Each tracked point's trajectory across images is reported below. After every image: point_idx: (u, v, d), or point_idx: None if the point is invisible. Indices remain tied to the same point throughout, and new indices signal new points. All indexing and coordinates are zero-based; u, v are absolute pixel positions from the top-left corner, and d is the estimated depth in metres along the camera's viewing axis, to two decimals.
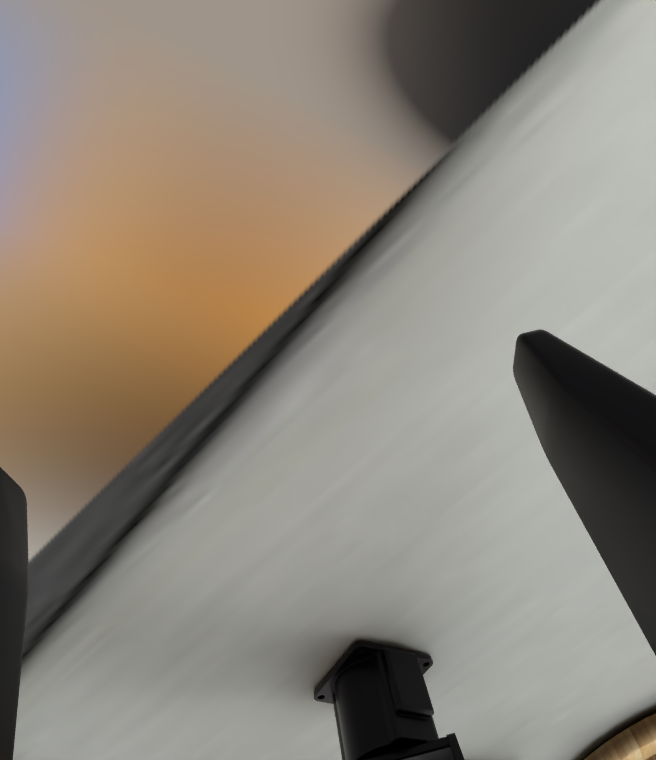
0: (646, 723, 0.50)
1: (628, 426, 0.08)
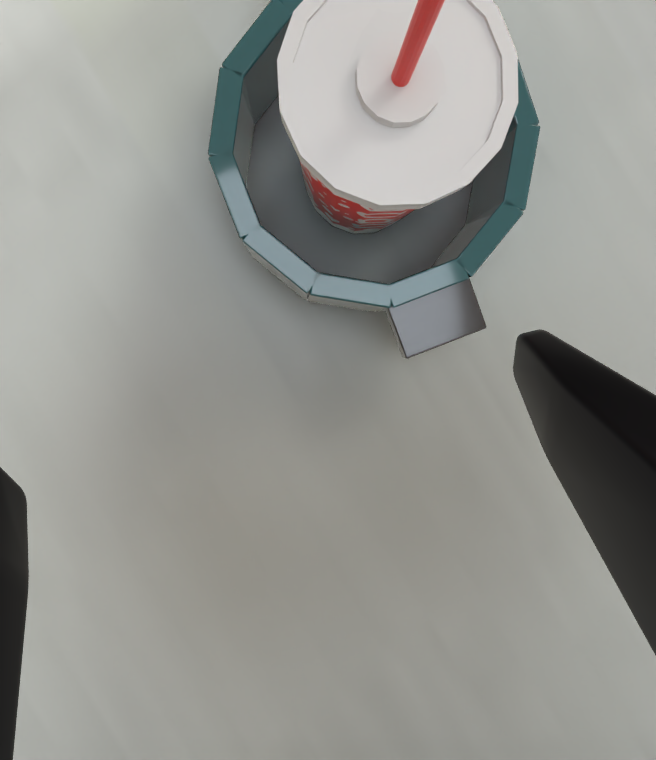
0: None
1: (628, 426, 0.08)
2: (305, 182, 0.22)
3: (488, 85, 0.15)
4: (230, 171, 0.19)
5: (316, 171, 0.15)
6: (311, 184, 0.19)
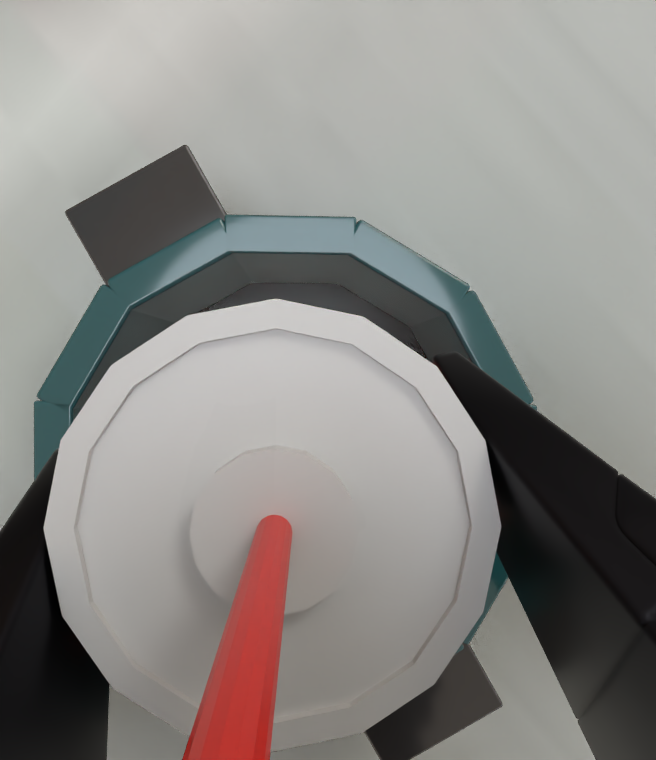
0: None
1: (518, 454, 0.07)
2: None
3: (441, 500, 0.08)
4: None
5: (149, 705, 0.08)
6: None
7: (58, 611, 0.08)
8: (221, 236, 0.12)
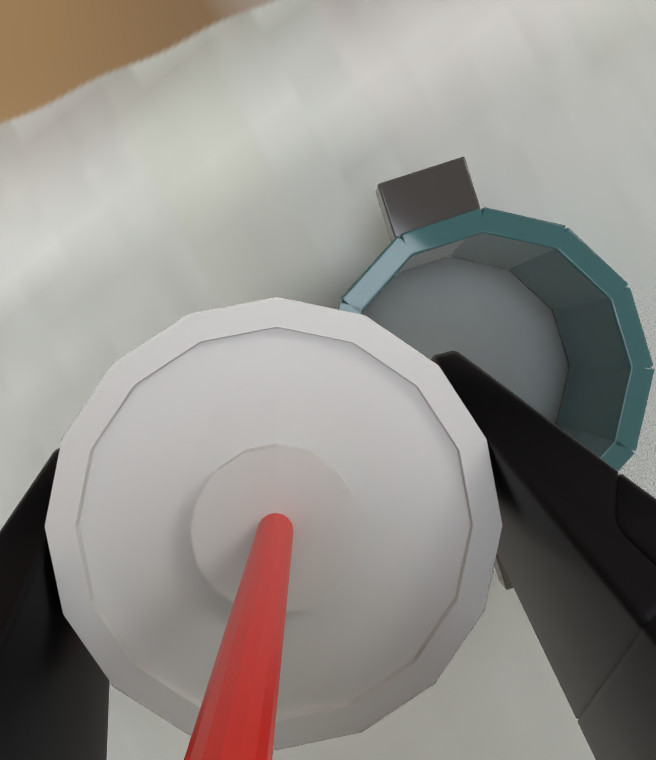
0: None
1: (518, 454, 0.07)
2: None
3: (443, 498, 0.08)
4: None
5: (150, 704, 0.08)
6: None
7: (58, 611, 0.08)
8: (478, 220, 0.19)
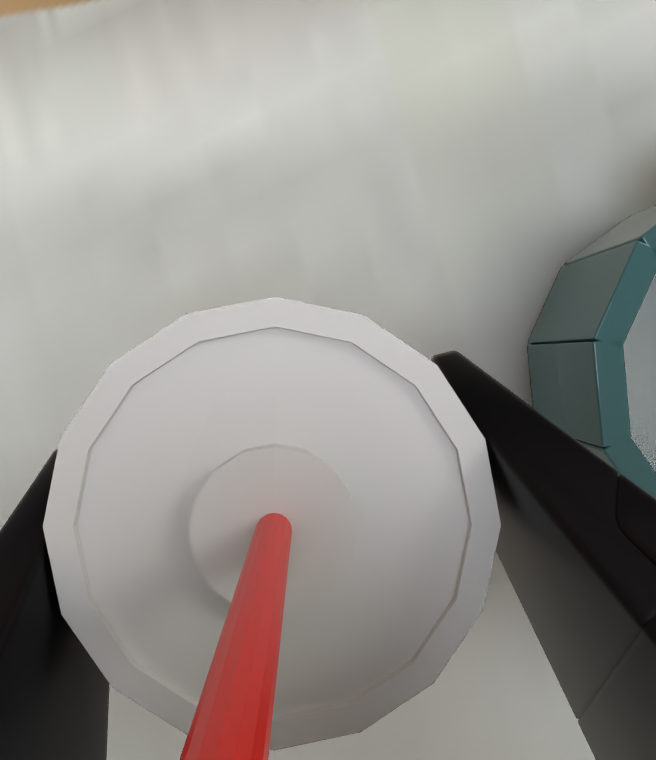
0: None
1: (518, 454, 0.07)
2: None
3: (441, 498, 0.08)
4: (614, 365, 0.15)
5: (149, 704, 0.08)
6: None
7: (58, 611, 0.08)
8: None
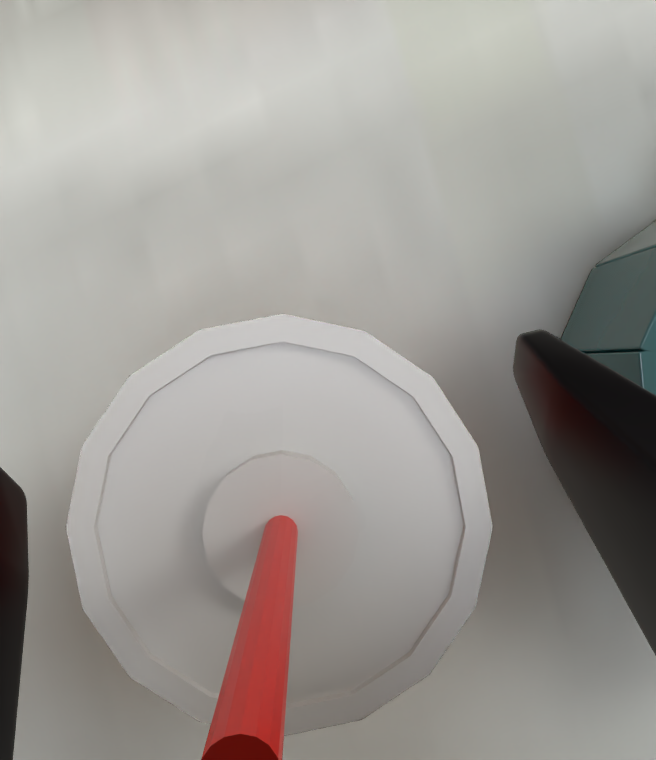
0: None
1: (628, 426, 0.08)
2: None
3: (437, 501, 0.09)
4: None
5: (163, 693, 0.08)
6: None
7: None
8: None
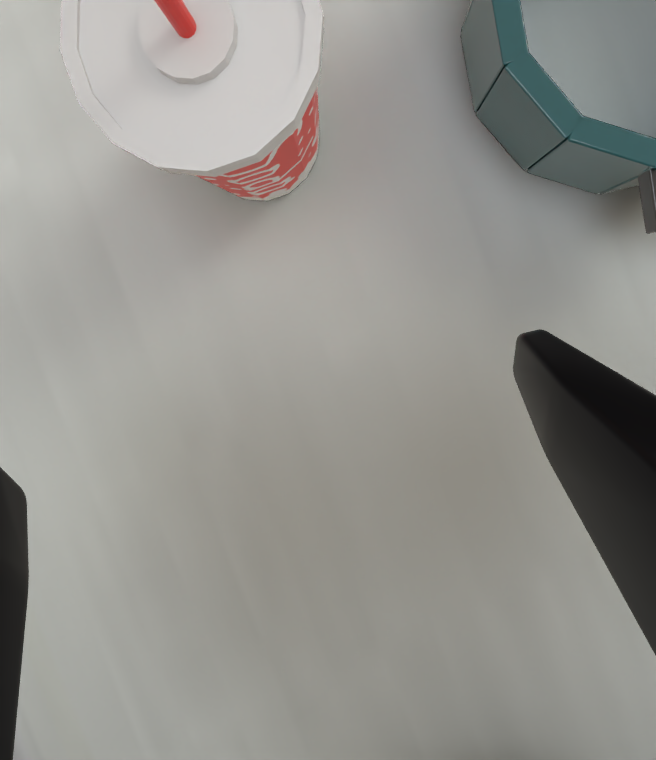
0: None
1: (628, 426, 0.08)
2: None
3: (287, 4, 0.13)
4: None
5: None
6: None
7: None
8: None
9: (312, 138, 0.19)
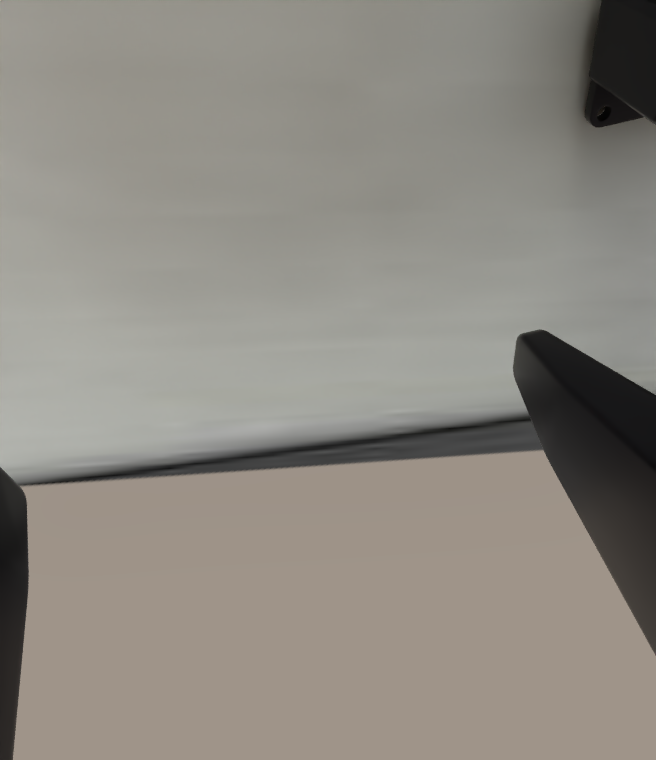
0: None
1: (628, 426, 0.08)
2: None
3: None
4: None
5: None
6: None
7: None
8: None
9: None
